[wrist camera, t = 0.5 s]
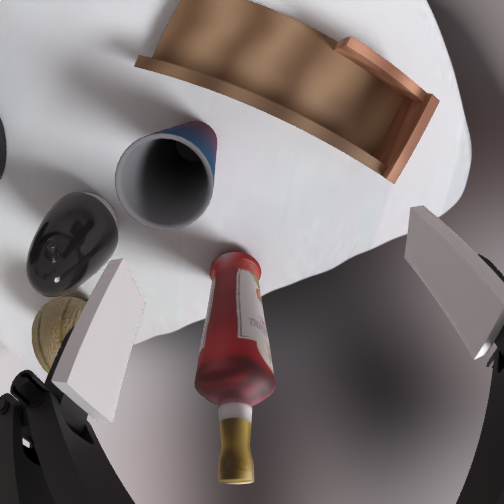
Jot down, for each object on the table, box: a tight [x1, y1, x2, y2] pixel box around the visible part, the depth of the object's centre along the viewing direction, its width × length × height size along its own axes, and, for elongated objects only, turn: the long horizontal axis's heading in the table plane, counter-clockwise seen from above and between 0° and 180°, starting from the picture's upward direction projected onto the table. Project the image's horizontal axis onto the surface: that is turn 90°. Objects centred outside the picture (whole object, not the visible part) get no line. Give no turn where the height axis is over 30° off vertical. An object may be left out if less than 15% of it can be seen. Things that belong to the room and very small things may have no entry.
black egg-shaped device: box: [26, 192, 118, 297], centre depth 28 cm, size 10×10×15 cm
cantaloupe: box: [32, 297, 87, 374], centre depth 37 cm, size 15×15×15 cm
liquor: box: [195, 252, 275, 484], centre depth 28 cm, size 7×7×28 cm
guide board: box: [134, 0, 439, 184], centre depth 23 cm, size 28×11×7 cm, turn 65°
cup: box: [115, 121, 217, 230], centre depth 24 cm, size 7×7×15 cm
